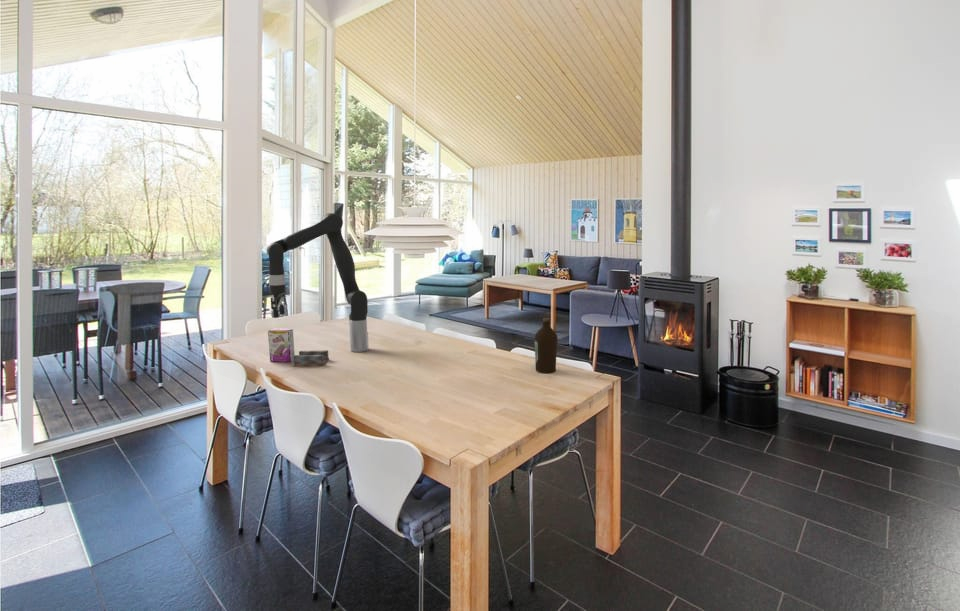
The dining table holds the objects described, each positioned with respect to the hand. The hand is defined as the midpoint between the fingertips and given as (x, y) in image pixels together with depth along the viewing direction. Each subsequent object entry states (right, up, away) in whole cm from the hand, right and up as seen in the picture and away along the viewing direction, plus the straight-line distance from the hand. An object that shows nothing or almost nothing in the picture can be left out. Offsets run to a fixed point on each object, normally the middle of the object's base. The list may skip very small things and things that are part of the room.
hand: (279, 315), depth 250 cm
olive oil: (+131, -26, -15) cm, 134 cm away
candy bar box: (0, -23, +4) cm, 24 cm away
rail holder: (+16, -24, 0) cm, 29 cm away
